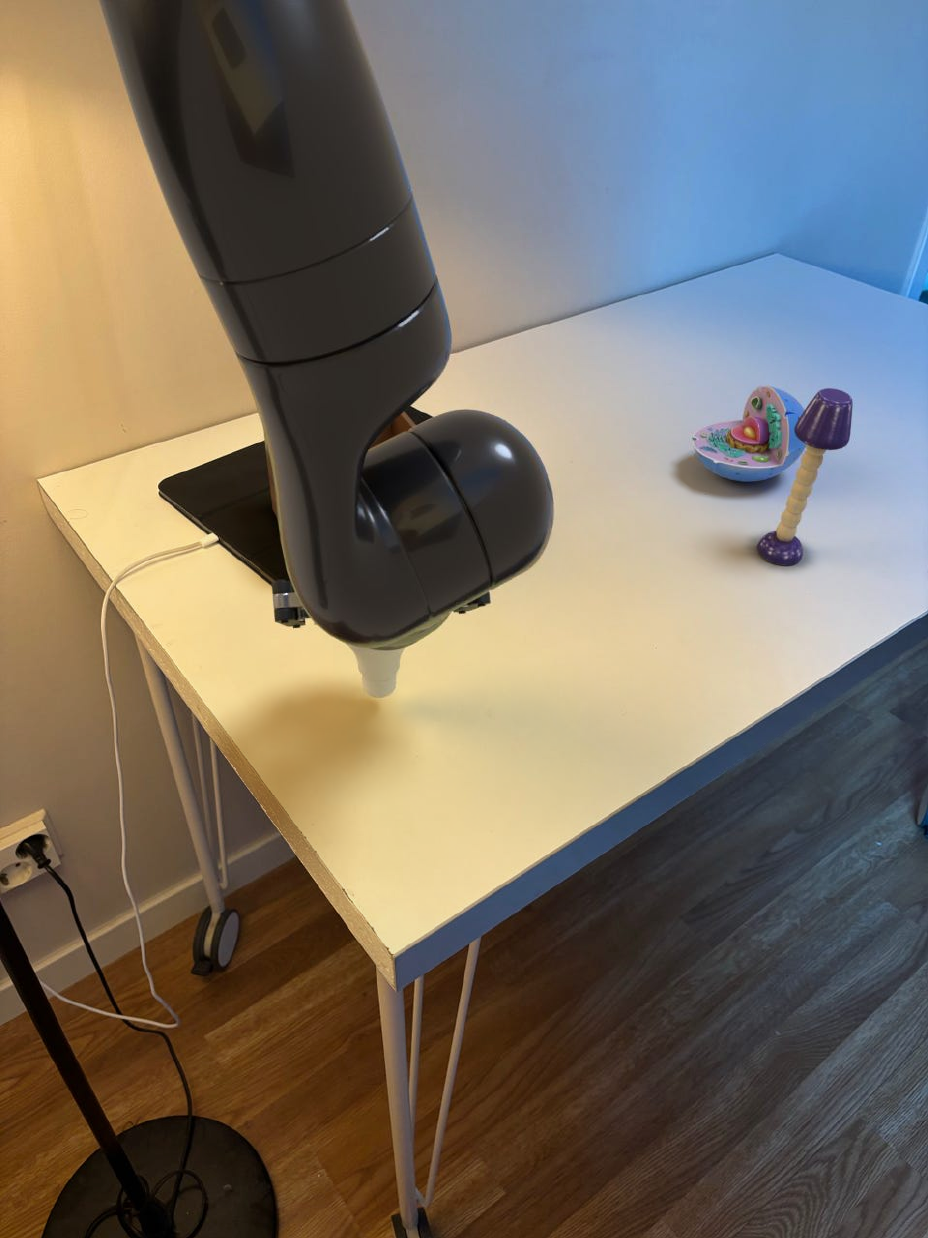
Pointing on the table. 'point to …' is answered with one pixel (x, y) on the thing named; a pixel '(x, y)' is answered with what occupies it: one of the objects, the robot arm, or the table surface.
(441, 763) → the table surface
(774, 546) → the toy lamp
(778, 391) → the cell model
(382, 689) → the lightbulb
